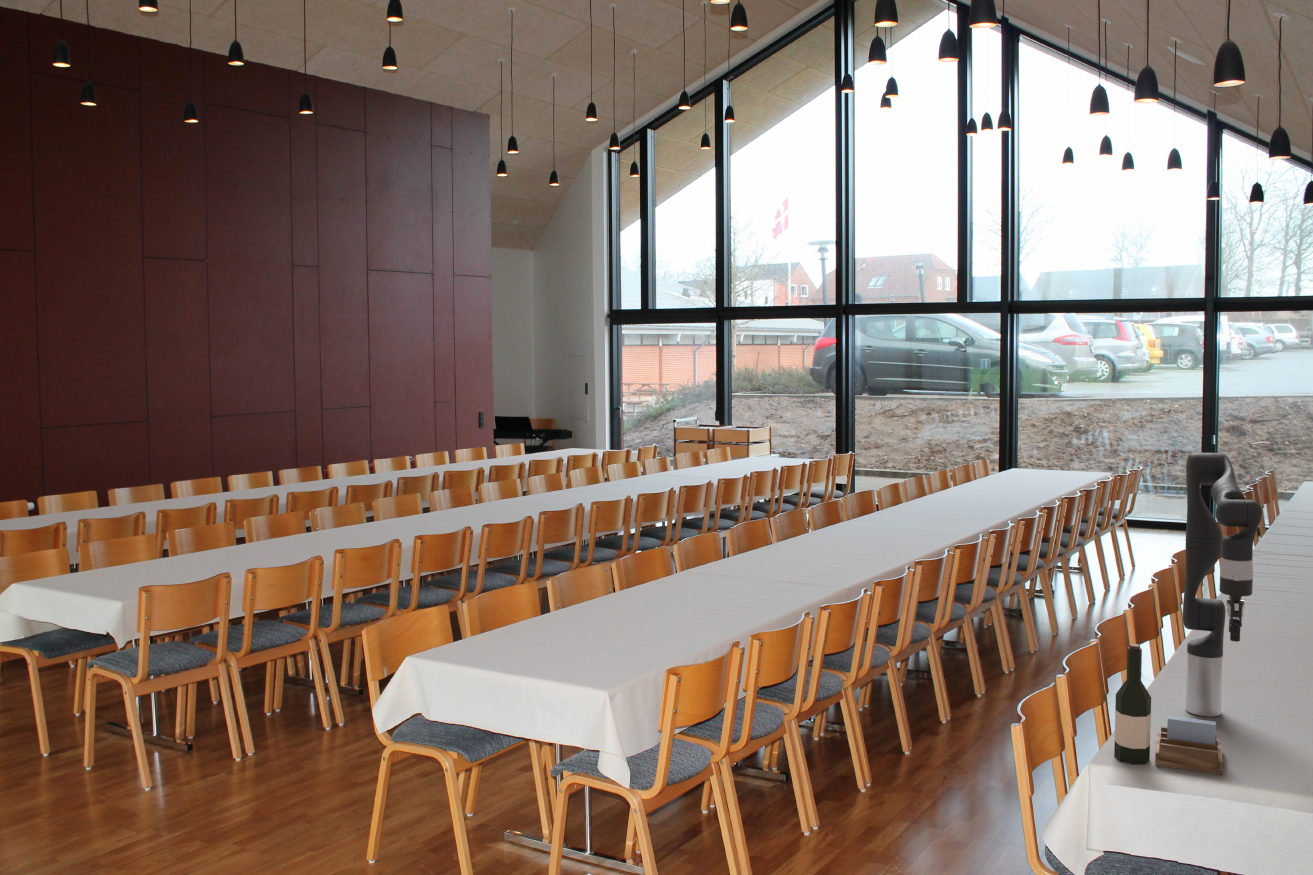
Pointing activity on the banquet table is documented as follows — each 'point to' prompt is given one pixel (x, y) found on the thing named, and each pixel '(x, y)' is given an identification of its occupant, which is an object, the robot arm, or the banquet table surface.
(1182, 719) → the light blue flat block
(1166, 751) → the rack
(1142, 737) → the wine bottle
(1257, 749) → the banquet table surface
